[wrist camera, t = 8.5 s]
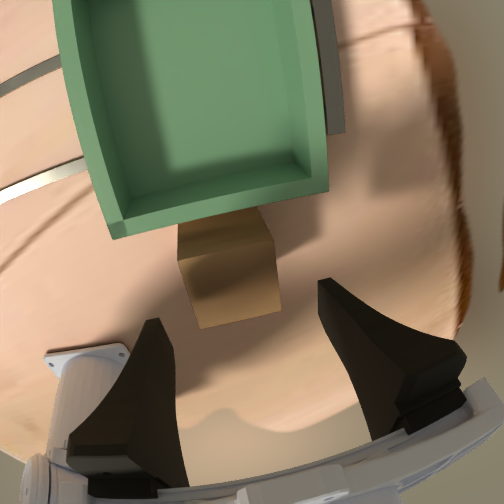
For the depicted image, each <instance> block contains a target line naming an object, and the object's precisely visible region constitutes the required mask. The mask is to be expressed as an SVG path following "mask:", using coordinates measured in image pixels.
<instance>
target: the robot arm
mask: <svg viewBox="0 0 504 504" xmlns="http://www.w3.org/2000/svg"><path fill="white" fill-rule="evenodd" d="M318 315H319V317H320V320H321V322H322V325H323V327H324V330H325V332H326V334H327V336H328V337H329V339H330V341H331V343H332V345H333V347H334V348H335V350H336V352H337V354H338V355H339V357H340V359H341V361H342V363H343V364H344V366H345V368H346V370H347V372H348V374H349V377H350V379H351V381H352V384H353V386H354V389H355V391H356V394H357V397H358V399H359V402H360V405H361V408H362V410H363V413H364V416H365V419H366V422H367V426H368V429H369V432H370V435H371V439H372V442H369V443H367V444H364V445H362V446H359V447H356V448H354V449H351V450H348V451H345V452H342V453H340V454H337V455H334V456H331V457H328V458H324V459H321V460H318V461H315V462H312V463H308V464H305V465H301V466H298V467H294V468H290V469H286V470H282V471H278V472H274V473H270V474H265V475H261V476H257V477H251V478H246V479H241V480H236V481H229V482H223V483H216V484H209V485H202V486H193V487H190V486H189V482H188V478H187V474H186V470H185V466H184V461H183V457H182V451H181V446H180V441H179V434H178V427H177V420H176V407H175V359H174V351H173V346H172V344H171V342H170V340H169V338H168V336H167V334H166V332H165V329H164V327H163V325H162V323H161V321H160V319H159V318H154V319H149V320H146V322H145V323H144V326H143V328H142V330H141V332H140V335H139V337H138V339H137V341H136V344H135V346H134V348H133V350H132V352H131V354H130V353H129V351H128V350H127V348H126V347H125V345H123V344H121V343H115V344H109V345H103V346H97V347H91V348H84V349H78V350H71V351H64V352H57V353H50V354H45V355H44V357H43V360H44V362H45V363H46V364H47V365H48V367H49V368H50V369H51V370H52V372H53V373H54V374H55V375H56V376H57V377H58V379H59V384H58V388H57V393H56V398H55V403H54V408H53V413H52V418H51V424H50V429H49V436H48V442H47V449H46V454H45V455H42V454H40V453H37V454H35V456H32V457H30V458H29V459H28V460H27V463H26V465H25V468H24V472H23V477H22V482H21V488H20V497H19V504H404V503H403V501H402V499H401V496H400V493H402V492H404V491H406V490H408V489H410V488H412V487H414V486H416V485H417V484H419V483H421V482H423V481H425V480H426V479H428V478H430V477H432V476H433V475H435V474H437V473H438V472H440V471H441V470H443V469H445V468H446V467H448V466H449V465H451V464H453V463H454V462H456V461H457V460H459V459H460V458H462V457H463V456H465V455H466V454H468V453H469V452H471V451H472V450H474V449H475V448H476V447H478V446H479V445H481V444H482V443H484V442H485V441H486V440H488V439H489V438H490V437H491V436H492V435H493V434H494V433H495V432H496V431H497V430H498V429H499V428H500V427H501V426H502V425H503V424H504V404H503V402H502V401H501V399H500V398H499V396H498V395H497V393H496V392H495V390H494V389H493V388H492V386H491V385H490V383H489V382H488V381H487V379H486V378H485V377H483V378H482V379H480V380H478V381H477V382H475V383H474V384H472V385H470V386H469V387H467V388H466V389H465V390H464V391H463V392H462V391H461V389H460V388H459V387H460V386H461V383H460V381H459V380H458V376H459V375H460V373H461V371H462V369H463V368H464V366H465V363H466V359H467V356H466V355H465V353H464V352H463V350H462V349H461V348H460V346H459V345H458V344H457V343H456V342H455V341H453V340H449V339H444V338H440V337H436V336H432V335H429V334H426V333H423V332H420V331H417V330H414V329H412V328H410V327H407V326H405V325H402V324H400V323H398V322H396V321H394V320H392V319H390V318H388V317H386V316H385V315H383V314H381V313H379V312H378V311H376V310H374V309H373V308H371V307H370V306H368V305H367V304H365V303H364V302H362V301H361V300H360V299H358V298H357V297H355V296H354V295H353V294H351V293H350V292H349V291H347V290H346V289H345V288H343V287H342V286H341V285H340V284H338V283H337V282H336V281H334V280H333V279H332V278H326V279H322V280H319V281H318Z"/></svg>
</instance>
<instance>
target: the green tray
mask: <svg viewBox="0 0 504 504" xmlns="http://www.w3.org/2000/svg"><path fill="white" fill-rule="evenodd" d="M52 2H53V12H54V20H55V28H56V35H57V41H58V47H59V53H60V59H61V64H62V70H63V75H64V80H65V84H66V89H67V93H68V98H69V102H70V106H71V111H72V115H73V119H74V122H75V126H76V130H77V134H78V137H79V141H80V145H81V148H82V151H83V155H84V158H85V162H86V165H87V168H88V171H89V174H90V178H91V181H92V184H93V187H94V190H95V193H96V196H97V199H98V201H99V204H100V207H101V210H102V213H103V215H104V218H105V221H106V224H107V226H108V229H109V232H110V234H111V237H112V239H113V240H115V239H119V238H123V237H127V236H131V235H135V234H139V233H142V232H146V231H150V230H154V229H158V228H163V227H167V226H171V225H175V224H179V223H183V222H187V221H192V220H196V219H200V218H205V217H209V216H213V215H218V214H222V213H227V212H231V211H236V210H240V209H245V208H249V207H254V206H259V205H263V204H268V203H273V202H278V201H283V200H288V199H293V198H298V197H303V196H308V195H313V194H318V193H323V192H329V178H328V160H327V145H326V131H325V119H324V108H323V97H322V88H321V78H320V70H319V62H318V54H317V46H316V39H315V32H314V25H313V19H312V13H311V6H310V1H309V0H52Z"/></svg>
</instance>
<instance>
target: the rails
mask: <svg viewBox="0 0 504 504" xmlns="http://www.w3.org/2000/svg"><path fill="white" fill-rule="evenodd" d="M309 1H310V6H311V13H312V19H313V25H314V32H315V39H316V46H317V54H318V62H319V70H320V78H321V88H322V97H323V108H324V119H325V131H326V134H327V135H332V134H340V133H345V119H344V105H343V93H342V82H341V72H340V63H339V55H338V46H337V39H336V32H335V25H334V18H333V12H332V5H331V0H309ZM59 68H62V64H61V59H60V55H58V56H56V57H54V58H51V59H49V60H47V61H45V62H43V63H41V64H39V65H37V66H34V67H32V68H30V69H28V70H27V71H25V72H23V73H21V74H19V75H17V76H15V77H13V78H12V79H10V80H8V81H6V82H4V83H3V84H1V85H0V98H1V97H3V96H5V95H6V94H8V93H10V92H12V91H14V90H16V89H18V88H19V87H21V86H23V85H25V84H27V83H29V82H31V81H33V80H35V79H37V78H39V77H41V76H44V75H46V74H48V73H50V72H52V71H55V70H57V69H59ZM85 170H88V168H87V165H86V162H85V158H84V157H83V158H80V159H77V160H74V161H71V162H69V163H66V164H63V165H61V166H58V167H55V168H53V169H50V170H48V171H45V172H43V173H40V174H38V175H35V176H33V177H30V178H28V179H26V180H23V181H21V182H19V183H16V184H14V185H12V186H10V187H7V188H5V189H3V190H1V191H0V204H1V203H3V202H5V201H7V200H10V199H12V198H14V197H17V196H19V195H21V194H24V193H26V192H29V191H31V190H34V189H36V188H39V187H41V186H44V185H46V184H49V183H52V182H54V181H57V180H60V179H63V178H65V177H68V176H71V175H74V174H77V173H80V172H82V171H85Z"/></svg>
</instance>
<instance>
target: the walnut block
mask: <svg viewBox="0 0 504 504" xmlns="http://www.w3.org/2000/svg"><path fill="white" fill-rule="evenodd" d="M177 261H178V264H179V268H180V271H181V274H182V277H183V280H184V283H185V286H186V289H187V292H188V295H189V298H190V301H191V304H192V307H193V310H194V313H195V316H196V319H197V322H198V325H199V327H200V329H204V328H209V327H213V326H218V325H223V324H227V323H232V322H236V321H240V320H245V319H249V318H253V317H258V316H262V315H266V314H270V313H274V312H278V311H281V302H280V293H279V283H278V274H277V265H276V256H275V248H274V239H273V238H272V236H271V234H270V232H269V230H268V228H267V226H266V224H265V222H264V220H263V218H262V217H261V215H260V213H259V211H258V209H257V207H256V206H254V207H249V208H245V209H240V210H236V211H231V212H227V213H222V214H218V215H213V216H209V217H205V218H200V219H196V220H192V221H187V222H183V223H179V224H178V249H177Z"/></svg>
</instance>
